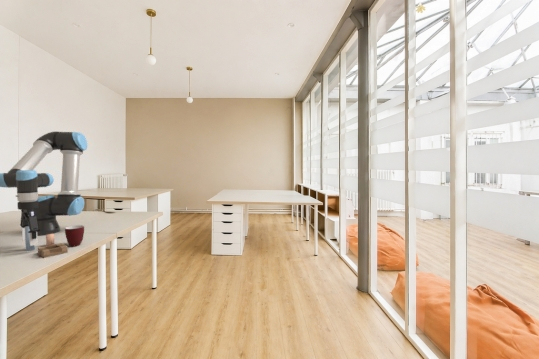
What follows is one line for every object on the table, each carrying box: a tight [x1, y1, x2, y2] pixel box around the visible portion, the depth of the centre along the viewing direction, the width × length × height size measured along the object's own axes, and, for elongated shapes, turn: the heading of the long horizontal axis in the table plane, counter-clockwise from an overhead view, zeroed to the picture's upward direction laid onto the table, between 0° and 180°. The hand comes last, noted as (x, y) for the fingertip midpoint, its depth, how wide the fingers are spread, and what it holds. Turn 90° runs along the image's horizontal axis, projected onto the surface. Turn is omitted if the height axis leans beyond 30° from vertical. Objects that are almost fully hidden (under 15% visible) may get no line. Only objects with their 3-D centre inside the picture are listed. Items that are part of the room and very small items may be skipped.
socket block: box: [37, 242, 69, 258], centre depth 122 cm, size 9×9×3 cm
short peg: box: [45, 233, 55, 246], centre depth 133 cm, size 3×3×6 cm
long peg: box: [24, 226, 35, 252], centre depth 126 cm, size 3×3×12 cm
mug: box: [64, 224, 85, 247], centre depth 135 cm, size 11×8×10 cm
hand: (29, 242), depth 126 cm, fingers open, 13 cm apart
